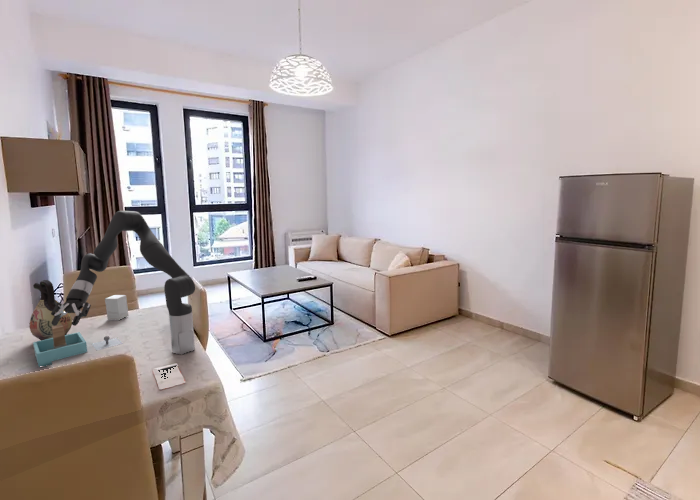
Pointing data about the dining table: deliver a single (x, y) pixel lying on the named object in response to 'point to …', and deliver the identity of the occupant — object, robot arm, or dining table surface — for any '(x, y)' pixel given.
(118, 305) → the supplement box
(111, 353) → the dining table surface
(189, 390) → the dining table surface
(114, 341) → the stud plate
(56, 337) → the walnut strut
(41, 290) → the ceramic jug
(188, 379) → the dining table surface
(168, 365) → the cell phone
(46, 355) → the teal bin
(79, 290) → the robot arm
